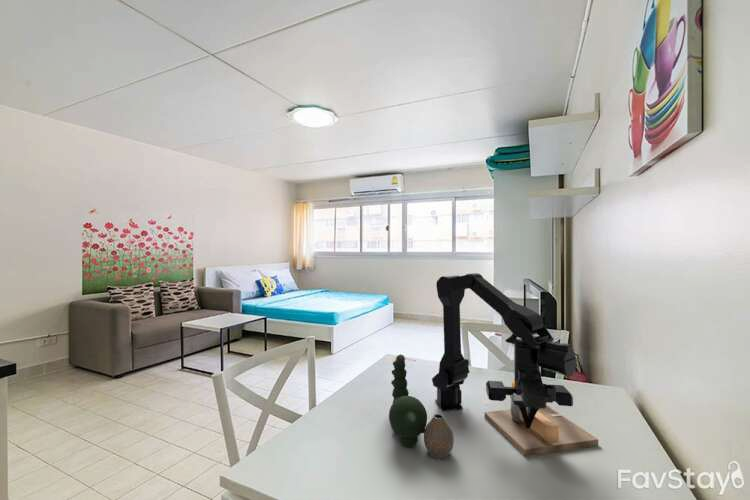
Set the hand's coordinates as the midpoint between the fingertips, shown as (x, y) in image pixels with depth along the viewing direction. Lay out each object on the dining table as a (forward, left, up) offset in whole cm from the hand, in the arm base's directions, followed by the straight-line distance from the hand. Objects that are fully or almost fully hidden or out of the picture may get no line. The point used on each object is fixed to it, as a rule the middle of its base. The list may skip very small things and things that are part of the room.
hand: (527, 427), depth 82 cm
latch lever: (+3, +2, -1) cm, 4 cm away
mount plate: (+6, +5, -4) cm, 9 cm away
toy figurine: (-28, +12, -4) cm, 30 cm away
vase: (-23, +1, -4) cm, 23 cm away
